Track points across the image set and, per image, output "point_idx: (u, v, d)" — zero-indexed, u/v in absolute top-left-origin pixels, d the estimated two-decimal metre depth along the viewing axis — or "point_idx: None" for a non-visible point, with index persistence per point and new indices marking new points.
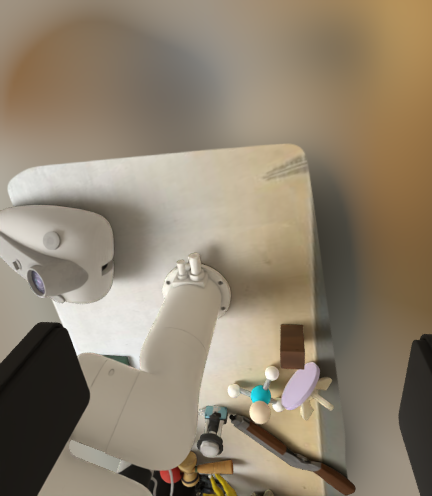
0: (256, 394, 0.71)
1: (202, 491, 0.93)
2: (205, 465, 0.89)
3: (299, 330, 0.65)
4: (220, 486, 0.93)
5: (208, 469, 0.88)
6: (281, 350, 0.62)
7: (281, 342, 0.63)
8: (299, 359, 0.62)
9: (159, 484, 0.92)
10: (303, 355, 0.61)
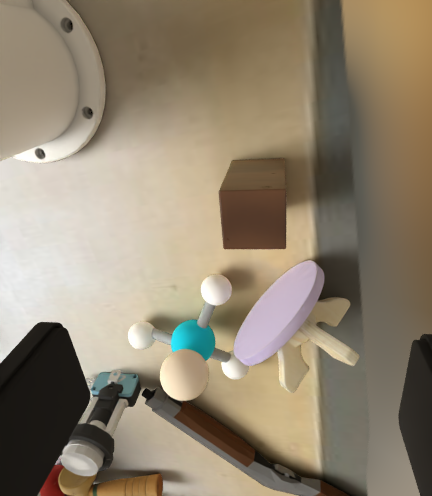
0: (180, 337, 0.32)
1: None
2: (111, 483, 0.49)
3: (275, 164, 0.26)
4: None
5: (115, 492, 0.48)
6: (222, 190, 0.22)
7: (226, 180, 0.24)
8: (270, 215, 0.22)
9: None
10: (282, 200, 0.22)
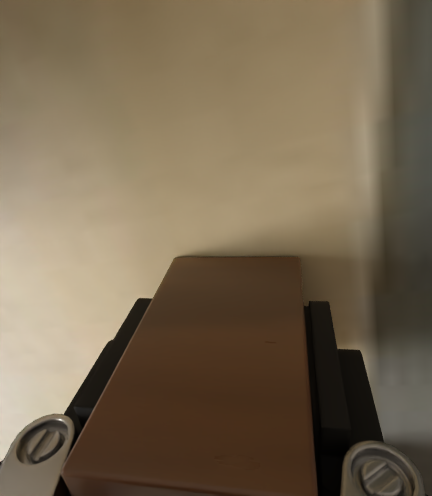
0: None
1: None
2: None
3: (277, 284, 0.10)
4: None
5: None
6: (75, 461, 0.06)
7: (120, 370, 0.08)
8: None
9: None
10: None
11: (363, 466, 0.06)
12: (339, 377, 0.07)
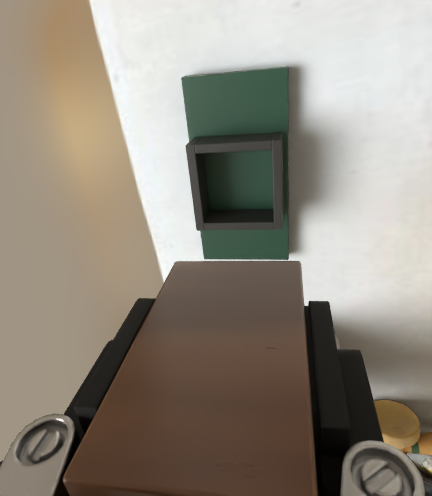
0: None
1: None
2: None
3: (277, 288, 0.10)
4: None
5: None
6: (76, 468, 0.06)
7: (122, 376, 0.08)
8: None
9: None
10: None
11: (363, 466, 0.06)
12: (339, 377, 0.07)
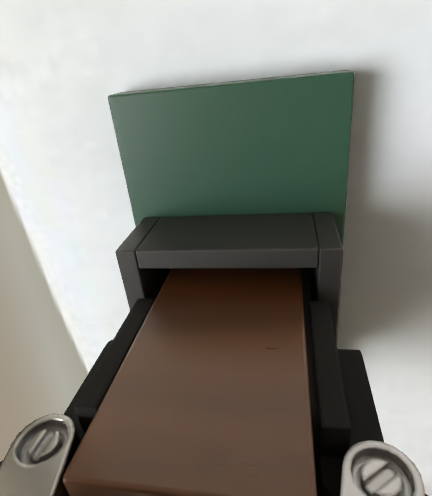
0: None
1: None
2: None
3: (277, 289, 0.10)
4: None
5: None
6: (76, 468, 0.06)
7: (121, 376, 0.08)
8: None
9: None
10: None
11: (363, 466, 0.06)
12: (339, 377, 0.07)
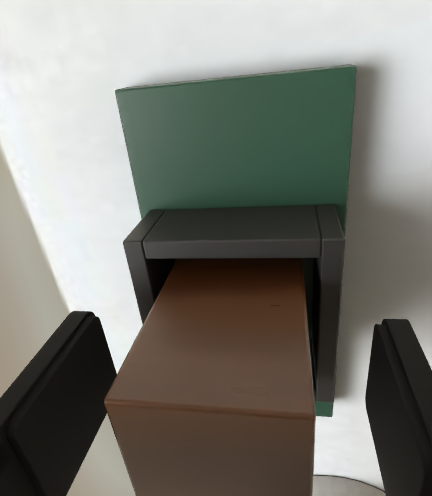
0: None
1: None
2: None
3: (280, 260, 0.11)
4: None
5: None
6: (115, 394, 0.07)
7: (146, 328, 0.09)
8: (266, 471, 0.07)
9: None
10: (304, 443, 0.07)
11: None
12: None
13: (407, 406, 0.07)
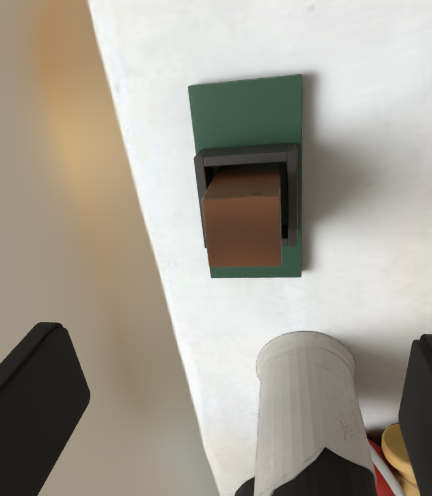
0: None
1: None
2: None
3: (268, 168, 0.23)
4: None
5: None
6: (205, 198, 0.19)
7: (210, 187, 0.20)
8: (263, 228, 0.19)
9: None
10: (276, 210, 0.18)
11: None
12: None
13: None
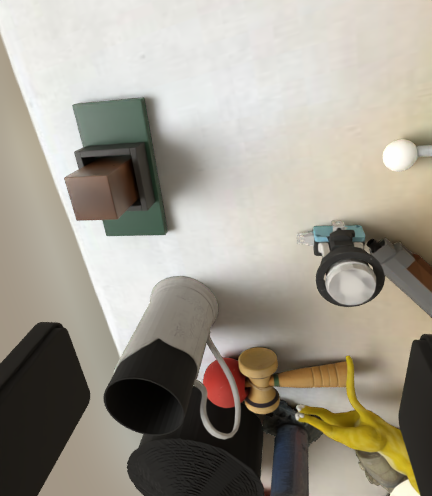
0: None
1: (281, 429, 0.49)
2: (294, 372, 0.45)
3: (124, 158, 0.35)
4: None
5: (302, 379, 0.44)
6: (66, 176, 0.31)
7: (77, 170, 0.33)
8: (101, 195, 0.31)
9: None
10: (107, 183, 0.31)
11: None
12: None
13: None
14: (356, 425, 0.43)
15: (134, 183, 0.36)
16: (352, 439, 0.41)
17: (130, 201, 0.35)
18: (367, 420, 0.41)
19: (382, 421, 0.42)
